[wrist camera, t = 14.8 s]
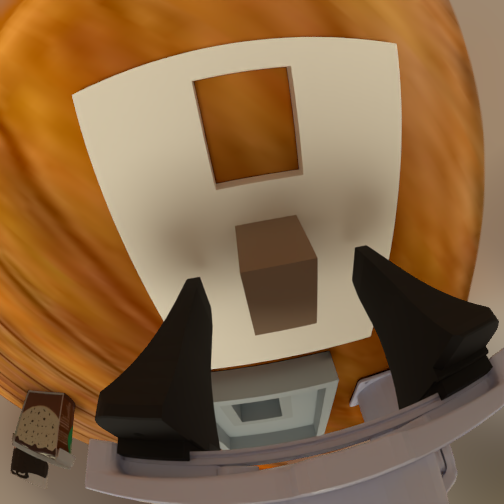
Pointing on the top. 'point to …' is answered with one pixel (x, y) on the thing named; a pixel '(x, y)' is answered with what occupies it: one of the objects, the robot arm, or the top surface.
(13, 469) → the cup
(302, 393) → the shallow tray
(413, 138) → the top surface
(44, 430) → the food container
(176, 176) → the lid
